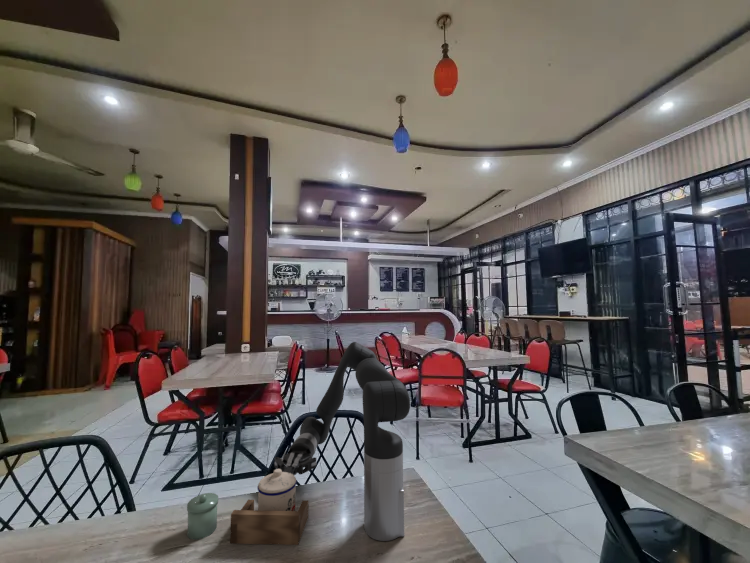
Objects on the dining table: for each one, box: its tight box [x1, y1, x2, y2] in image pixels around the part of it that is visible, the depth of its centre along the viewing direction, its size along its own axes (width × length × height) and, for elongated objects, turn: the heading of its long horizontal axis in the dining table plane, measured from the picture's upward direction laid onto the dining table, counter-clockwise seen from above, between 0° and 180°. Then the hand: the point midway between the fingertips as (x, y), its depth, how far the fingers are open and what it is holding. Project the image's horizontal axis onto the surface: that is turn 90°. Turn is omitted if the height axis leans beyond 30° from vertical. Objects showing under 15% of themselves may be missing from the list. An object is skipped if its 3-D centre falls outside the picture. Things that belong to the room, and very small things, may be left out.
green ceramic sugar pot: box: [186, 492, 219, 540], centre depth 75 cm, size 6×6×8 cm
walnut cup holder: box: [229, 499, 310, 546], centre depth 74 cm, size 15×9×6 cm, turn 88°
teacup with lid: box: [257, 468, 298, 511], centre depth 79 cm, size 12×9×12 cm
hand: (286, 478), depth 85 cm, fingers closed
